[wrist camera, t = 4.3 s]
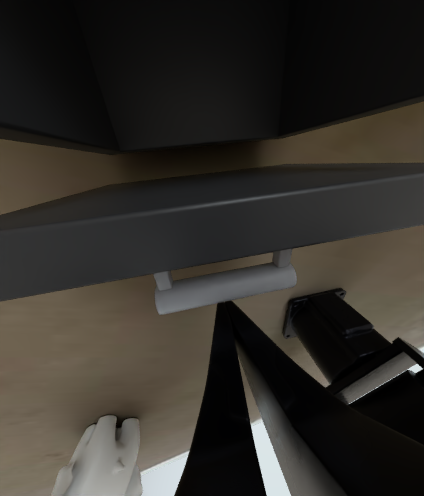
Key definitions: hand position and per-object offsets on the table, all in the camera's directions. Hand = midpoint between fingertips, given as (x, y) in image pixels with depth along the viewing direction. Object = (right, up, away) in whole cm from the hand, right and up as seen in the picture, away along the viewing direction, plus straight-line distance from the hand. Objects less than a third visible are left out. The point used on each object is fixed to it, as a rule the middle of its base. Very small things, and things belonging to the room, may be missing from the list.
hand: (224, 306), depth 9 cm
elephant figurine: (-16, -23, +14) cm, 31 cm away
